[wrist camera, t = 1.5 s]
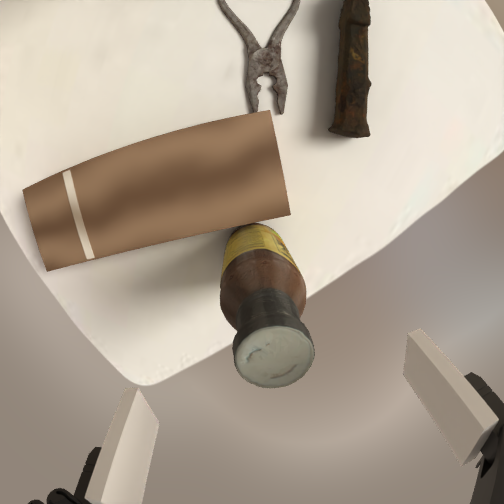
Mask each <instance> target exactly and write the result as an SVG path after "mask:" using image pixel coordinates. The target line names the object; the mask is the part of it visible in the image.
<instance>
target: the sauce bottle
mask: <svg viewBox="0 0 504 504" xmlns="http://www.w3.org/2000/svg"><path fill="white" fill-rule="evenodd" d="M220 288H221V291H220V306H221V310H222V312H223V314H224V316H225V318H226V320H227V321H228V322H229V323H230V325H232V327H233V328H234V329H236V330H237V334H236V335H235V337H234V340H233V355H234V363H235V367H236V369H237V371H238V373H239V374H240V376H241V377H242V378H243V379H245V380H246V381H247V382H249V383H251V384H254V385H256V386H259V387H262V388H279V387H284V386H288V385H290V384H292V383H294V382H296V381H297V380H299V379H300V378H302V377H303V376H304V375H305V373H306V372H307V371H308V370H309V368H310V367H311V365H312V362H313V359H314V355H315V354H314V353H315V352H314V345H313V341H312V339H311V336H310V333H309V331H308V329H307V328H306V327H305V325H304V324H303V323H302V322H301V321H300V317H301V315H302V313H303V310H304V307H305V304H306V286H305V282H304V279H303V277H302V275H301V273H300V271H299V269H298V267H297V266H296V264H295V262H294V260H293V258H292V257H291V255H290V253H289V251H288V250H287V248H286V246H285V244H284V242H283V241H282V239H281V237H280V236H279V235H278V234H277V233H276V232H275V231H274V230H273V229H271V228H270V227H268V226H266V225H263V224H259V223H250V224H246V225H243V226H242V227H240V228H238V229H237V230H235V231H234V232H233V233H232V234H231V236H230V239H229V241H228V243H227V245H226V249H225V254H224V261H223V268H222V275H221V282H220Z"/></svg>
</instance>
